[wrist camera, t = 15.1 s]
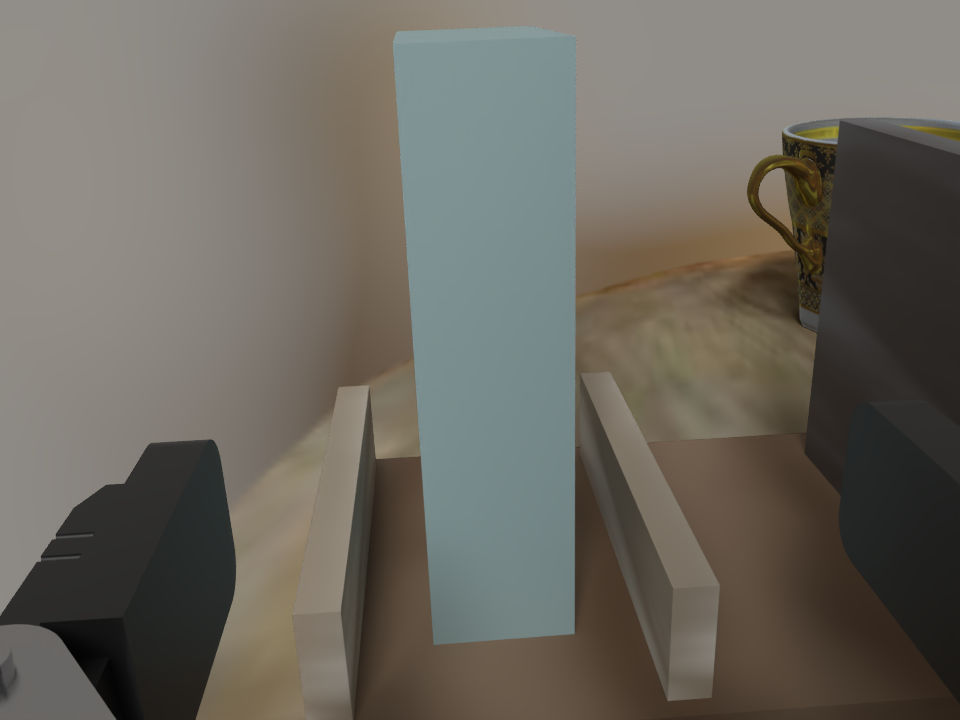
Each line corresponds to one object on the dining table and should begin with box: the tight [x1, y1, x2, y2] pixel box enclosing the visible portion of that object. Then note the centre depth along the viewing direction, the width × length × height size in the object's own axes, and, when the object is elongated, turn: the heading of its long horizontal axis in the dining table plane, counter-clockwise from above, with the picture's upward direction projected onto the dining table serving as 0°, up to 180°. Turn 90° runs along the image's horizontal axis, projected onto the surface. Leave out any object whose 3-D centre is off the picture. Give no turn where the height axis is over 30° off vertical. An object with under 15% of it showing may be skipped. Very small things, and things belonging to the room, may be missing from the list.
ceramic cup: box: [747, 117, 960, 332], centre depth 46 cm, size 13×10×10 cm
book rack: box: [292, 119, 960, 720], centre depth 24 cm, size 17×13×13 cm
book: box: [393, 26, 576, 645], centre depth 23 cm, size 4×7×14 cm, turn 4°
